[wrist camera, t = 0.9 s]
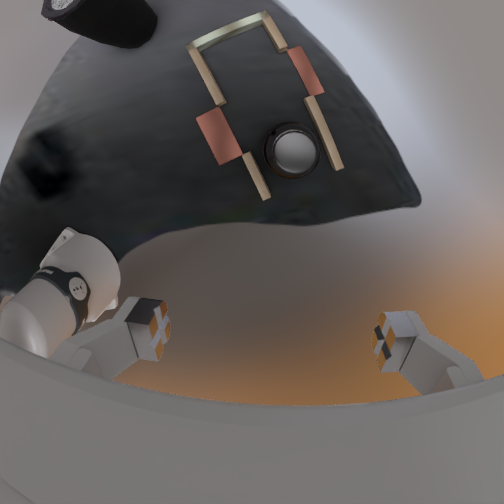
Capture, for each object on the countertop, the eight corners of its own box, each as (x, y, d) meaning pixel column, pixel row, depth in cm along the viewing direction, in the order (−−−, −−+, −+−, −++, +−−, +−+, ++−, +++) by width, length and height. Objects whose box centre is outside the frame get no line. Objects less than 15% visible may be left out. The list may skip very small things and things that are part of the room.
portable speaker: (123, 62, 33) (42, 38, 15) (107, 25, 29) (33, -6, 11) (169, 33, 31) (105, -16, 13) (150, -3, 27) (90, -53, 10)
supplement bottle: (263, 169, 40) (261, 184, 29) (262, 123, 37) (260, 120, 26) (310, 169, 39) (327, 185, 28) (310, 124, 36) (327, 121, 25)
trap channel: (240, 206, 42) (238, 211, 40) (167, 61, 33) (161, 58, 31) (352, 160, 38) (357, 162, 36) (279, 12, 29) (280, 5, 27)
